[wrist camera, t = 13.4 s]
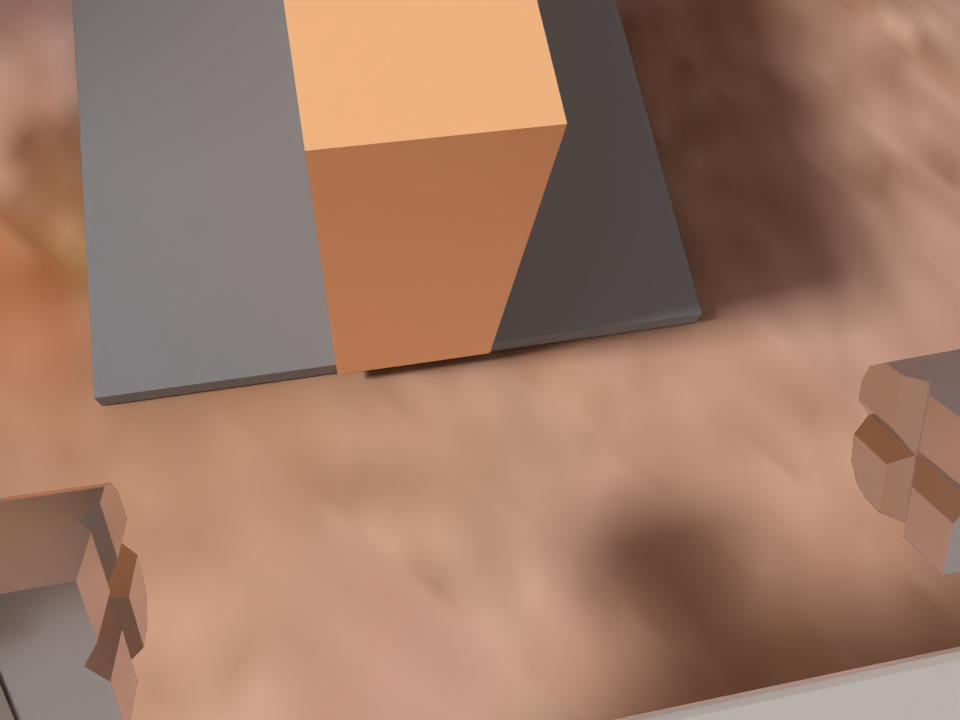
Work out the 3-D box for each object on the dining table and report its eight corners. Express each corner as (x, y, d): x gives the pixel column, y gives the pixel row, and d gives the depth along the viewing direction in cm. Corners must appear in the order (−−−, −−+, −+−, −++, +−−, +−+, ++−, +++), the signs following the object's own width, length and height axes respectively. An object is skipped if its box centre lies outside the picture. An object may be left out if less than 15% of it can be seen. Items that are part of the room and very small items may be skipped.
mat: (694, 322, 19) (702, 313, 19) (101, 405, 17) (94, 398, 17) (574, -120, 23) (578, -136, 22) (73, -90, 21) (66, -107, 21)
